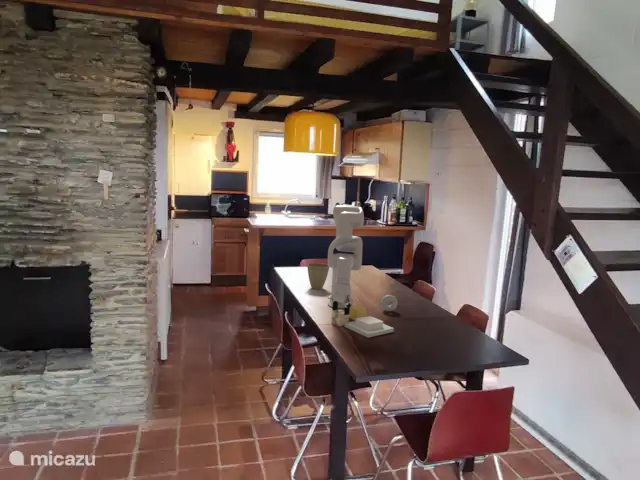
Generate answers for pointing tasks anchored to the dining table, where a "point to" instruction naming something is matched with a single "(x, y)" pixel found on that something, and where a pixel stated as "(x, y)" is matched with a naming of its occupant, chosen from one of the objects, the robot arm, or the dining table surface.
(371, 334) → the base
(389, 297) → the donut
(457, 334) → the dining table surface
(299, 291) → the dining table surface
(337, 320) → the maple block
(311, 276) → the plant pot
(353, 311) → the mustard block
